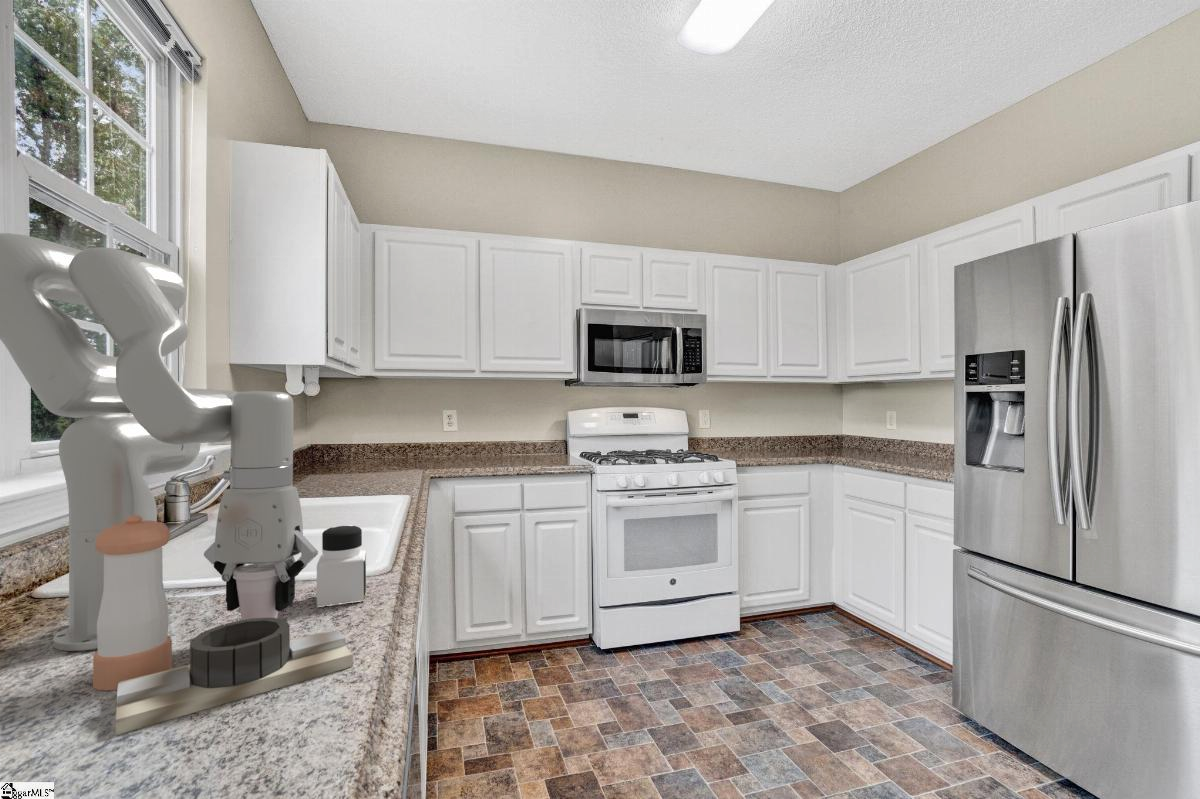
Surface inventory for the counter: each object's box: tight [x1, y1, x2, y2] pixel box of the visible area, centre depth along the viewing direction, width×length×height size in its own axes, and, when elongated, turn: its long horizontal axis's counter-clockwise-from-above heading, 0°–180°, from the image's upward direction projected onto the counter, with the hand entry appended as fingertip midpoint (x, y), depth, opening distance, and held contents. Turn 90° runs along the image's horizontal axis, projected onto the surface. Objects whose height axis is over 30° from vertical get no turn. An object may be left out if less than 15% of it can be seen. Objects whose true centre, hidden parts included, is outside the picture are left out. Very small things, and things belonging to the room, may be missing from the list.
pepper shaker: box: [92, 515, 173, 692], centre depth 67 cm, size 7×7×19 cm
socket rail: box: [115, 617, 354, 736], centre depth 65 cm, size 22×10×6 cm, turn 130°
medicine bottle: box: [316, 524, 367, 607], centre depth 93 cm, size 7×7×12 cm
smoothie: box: [233, 564, 280, 621], centre depth 78 cm, size 6×6×14 cm
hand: (260, 606), depth 78 cm, fingers closed on smoothie, 6 cm apart
